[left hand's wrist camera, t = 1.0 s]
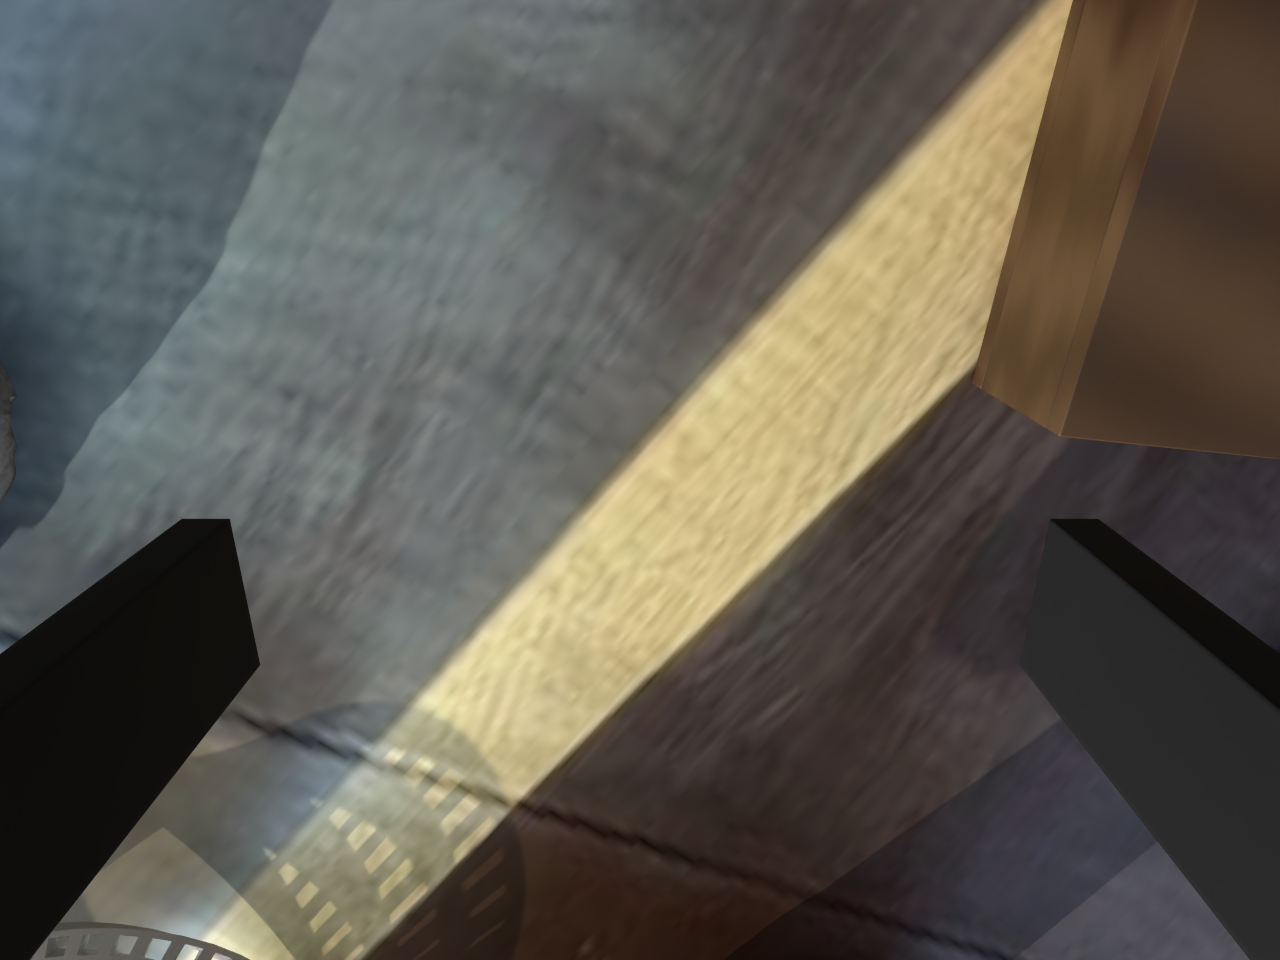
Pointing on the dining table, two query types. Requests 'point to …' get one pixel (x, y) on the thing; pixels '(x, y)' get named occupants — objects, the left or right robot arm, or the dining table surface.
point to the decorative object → (106, 956)
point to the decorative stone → (6, 434)
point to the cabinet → (1150, 234)
